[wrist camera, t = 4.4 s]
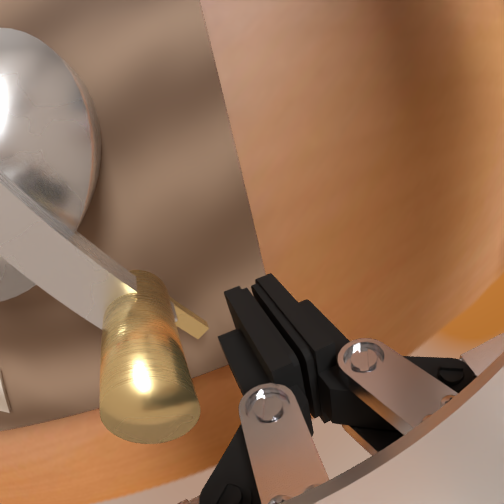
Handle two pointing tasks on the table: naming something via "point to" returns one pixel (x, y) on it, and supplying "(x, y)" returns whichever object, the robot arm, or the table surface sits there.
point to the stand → (136, 193)
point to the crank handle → (84, 245)
